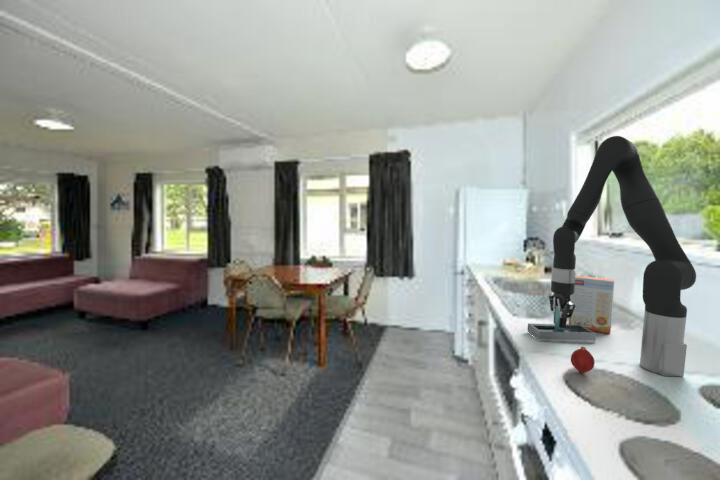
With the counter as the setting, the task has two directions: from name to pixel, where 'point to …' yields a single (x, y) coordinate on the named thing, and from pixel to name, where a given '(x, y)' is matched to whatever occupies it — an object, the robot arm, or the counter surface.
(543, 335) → the grey rectangular tray
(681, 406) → the counter surface
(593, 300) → the cracker box
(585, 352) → the onion
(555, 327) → the peg
